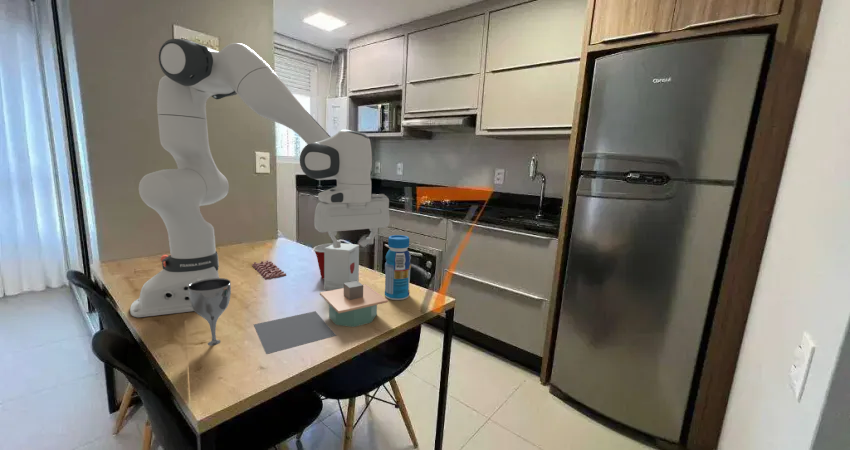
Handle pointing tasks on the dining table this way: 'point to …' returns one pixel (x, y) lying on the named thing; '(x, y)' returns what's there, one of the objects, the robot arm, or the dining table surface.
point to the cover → (352, 297)
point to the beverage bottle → (397, 268)
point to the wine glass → (210, 301)
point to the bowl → (353, 316)
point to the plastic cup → (321, 256)
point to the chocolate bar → (268, 270)
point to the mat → (292, 331)
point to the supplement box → (340, 265)
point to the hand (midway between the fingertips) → (353, 245)
